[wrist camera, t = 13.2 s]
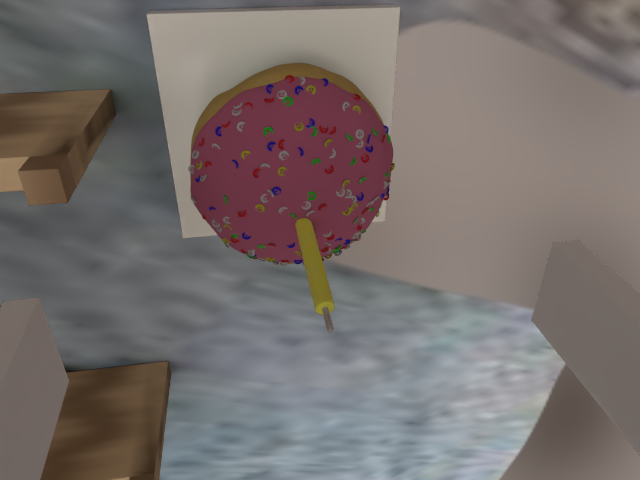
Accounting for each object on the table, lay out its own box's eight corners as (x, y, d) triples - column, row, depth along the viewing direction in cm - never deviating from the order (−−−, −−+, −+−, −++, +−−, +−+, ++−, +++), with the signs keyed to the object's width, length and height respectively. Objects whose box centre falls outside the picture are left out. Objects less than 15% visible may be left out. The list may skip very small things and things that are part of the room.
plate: (184, 228, 29) (183, 238, 28) (149, 10, 23) (146, 14, 22) (380, 212, 30) (384, 221, 29) (394, 4, 24) (400, 7, 23)
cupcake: (373, 192, 28) (459, 349, 18) (217, 225, 28) (217, 406, 18) (356, 25, 23) (459, 113, 13) (167, 61, 23) (129, 182, 13)
